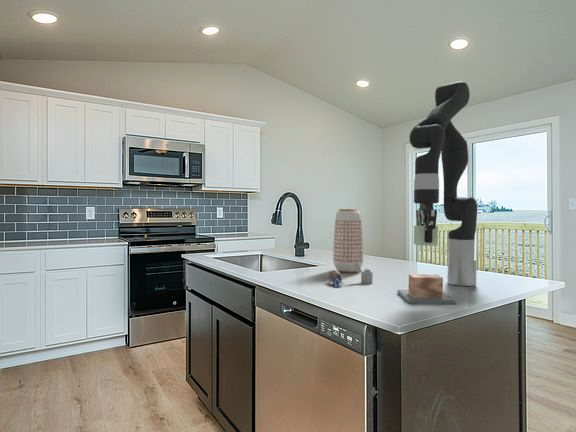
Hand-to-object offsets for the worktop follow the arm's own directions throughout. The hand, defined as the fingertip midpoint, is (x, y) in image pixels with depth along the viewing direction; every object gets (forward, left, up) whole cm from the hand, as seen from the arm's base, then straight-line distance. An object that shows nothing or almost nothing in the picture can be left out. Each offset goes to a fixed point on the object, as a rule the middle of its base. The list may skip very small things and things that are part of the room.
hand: (425, 241), depth 123 cm
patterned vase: (+19, -51, -18) cm, 57 cm away
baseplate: (0, 0, -18) cm, 18 cm away
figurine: (+27, -20, -19) cm, 38 cm away
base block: (0, 0, -17) cm, 17 cm away
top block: (0, 0, -1) cm, 1 cm away
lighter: (+16, -25, -18) cm, 35 cm away
